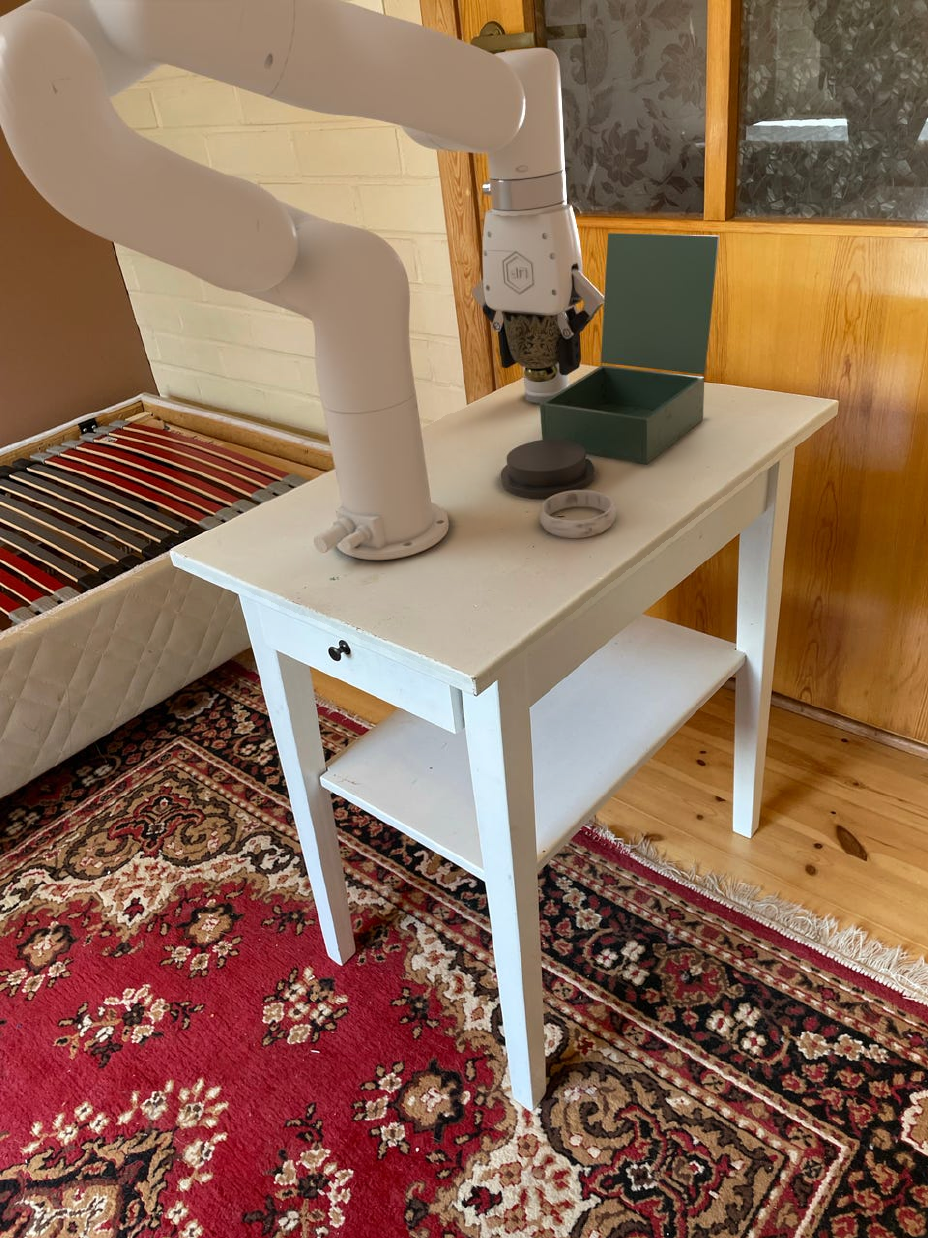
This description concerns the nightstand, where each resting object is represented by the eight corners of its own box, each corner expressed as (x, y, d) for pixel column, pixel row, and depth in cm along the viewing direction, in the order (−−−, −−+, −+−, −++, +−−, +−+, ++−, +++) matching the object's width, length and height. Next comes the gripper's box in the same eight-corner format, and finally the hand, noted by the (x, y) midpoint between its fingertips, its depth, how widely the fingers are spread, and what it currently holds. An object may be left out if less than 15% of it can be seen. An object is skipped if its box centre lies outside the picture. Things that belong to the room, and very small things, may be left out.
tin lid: (717, 235, 110) (719, 235, 110) (607, 232, 118) (610, 232, 118) (703, 374, 117) (705, 373, 117) (600, 362, 125) (602, 362, 125)
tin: (647, 464, 110) (646, 419, 107) (542, 446, 119) (539, 403, 116) (703, 419, 120) (704, 376, 117) (603, 405, 128) (601, 364, 125)
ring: (564, 499, 105) (563, 483, 104) (629, 512, 101) (629, 495, 100) (525, 530, 100) (524, 513, 99) (592, 545, 95) (591, 528, 94)
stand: (562, 506, 104) (560, 481, 102) (482, 488, 110) (480, 465, 108) (611, 467, 111) (611, 444, 109) (534, 453, 117) (532, 430, 115)
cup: (496, 377, 106) (489, 305, 101) (553, 362, 108) (549, 291, 104) (527, 395, 100) (521, 319, 95) (587, 379, 102) (584, 304, 98)
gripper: (437, 200, 96) (457, 370, 106) (583, 201, 86) (591, 388, 96) (480, 186, 101) (496, 350, 110) (623, 185, 91) (627, 364, 101)
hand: (540, 366), depth 103 cm, fingers closed on cup, 6 cm apart
